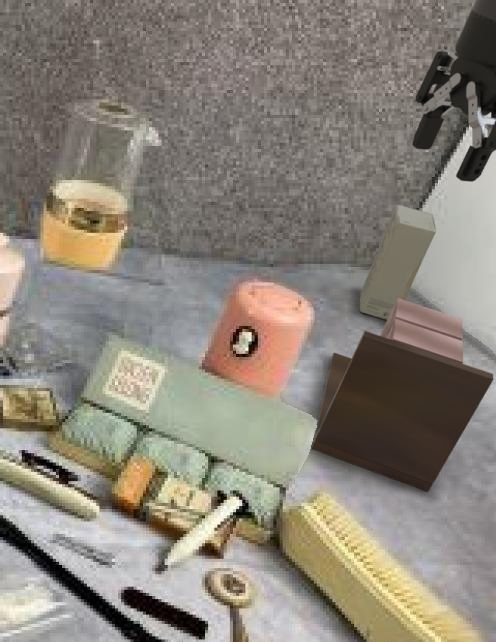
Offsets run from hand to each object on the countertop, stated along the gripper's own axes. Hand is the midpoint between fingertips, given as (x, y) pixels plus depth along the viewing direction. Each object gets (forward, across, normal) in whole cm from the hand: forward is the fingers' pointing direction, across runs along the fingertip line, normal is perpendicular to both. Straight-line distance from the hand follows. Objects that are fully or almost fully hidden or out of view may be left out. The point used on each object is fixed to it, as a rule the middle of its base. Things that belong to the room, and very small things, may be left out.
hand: (441, 163), depth 105 cm
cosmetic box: (+19, 0, 0) cm, 19 cm away
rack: (+19, -22, +13) cm, 32 cm away
